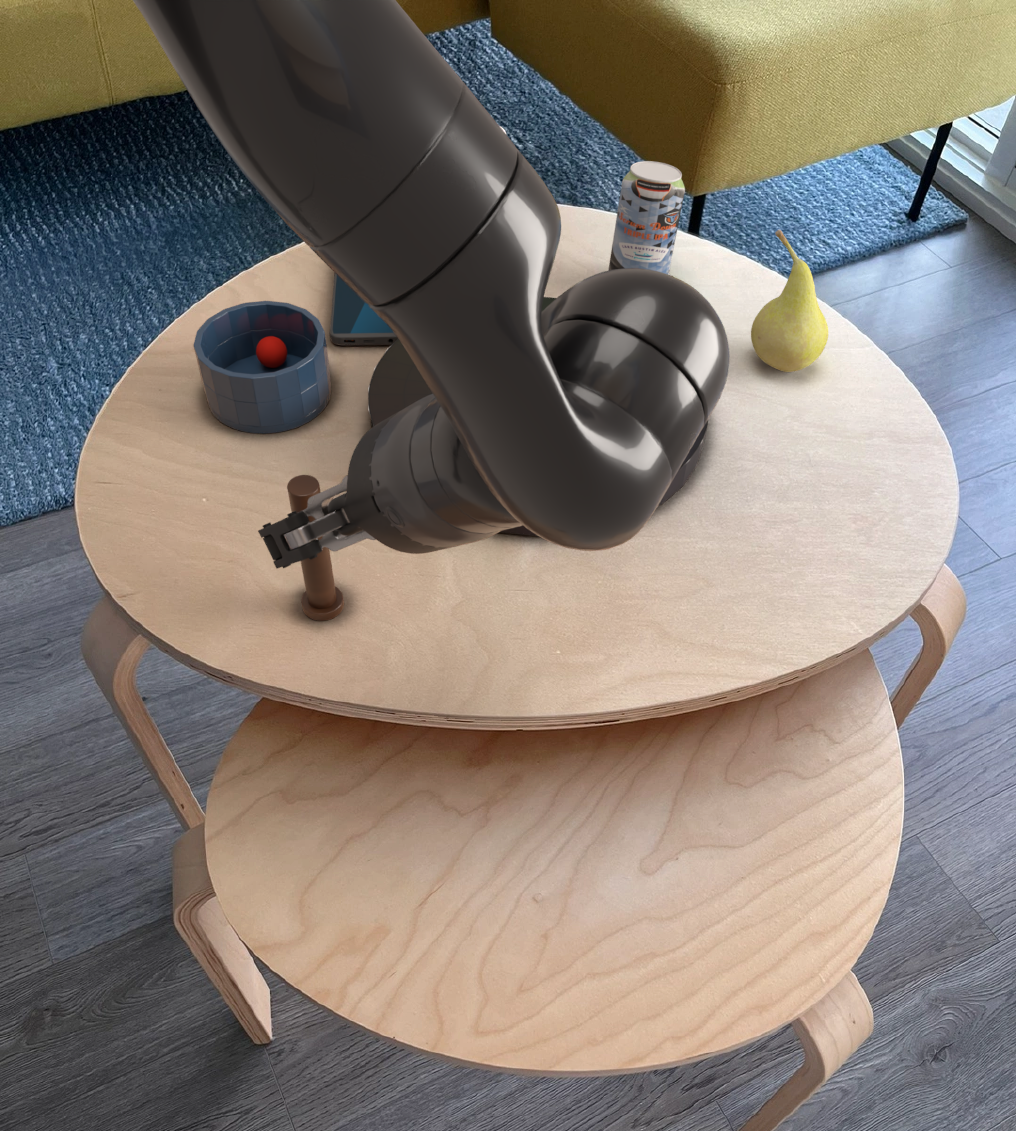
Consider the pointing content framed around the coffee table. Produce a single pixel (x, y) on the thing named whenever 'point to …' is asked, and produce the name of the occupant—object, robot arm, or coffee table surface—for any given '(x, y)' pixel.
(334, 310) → the smartphone
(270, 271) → the coffee table surface
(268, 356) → the red ball
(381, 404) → the disc
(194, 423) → the coffee table surface
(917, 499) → the coffee table surface
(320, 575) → the stick
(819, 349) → the fruit
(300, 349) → the bowl
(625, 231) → the beverage can
